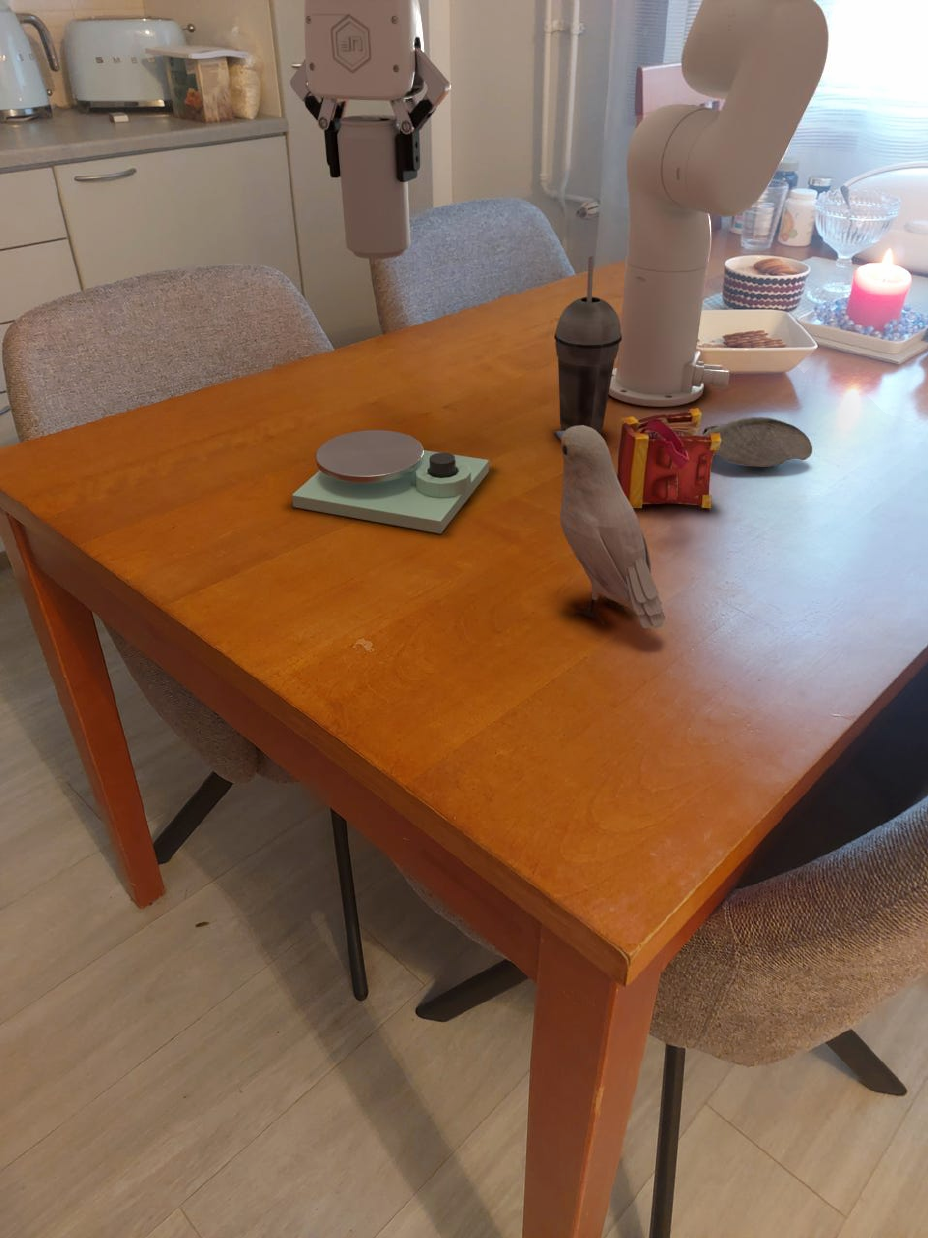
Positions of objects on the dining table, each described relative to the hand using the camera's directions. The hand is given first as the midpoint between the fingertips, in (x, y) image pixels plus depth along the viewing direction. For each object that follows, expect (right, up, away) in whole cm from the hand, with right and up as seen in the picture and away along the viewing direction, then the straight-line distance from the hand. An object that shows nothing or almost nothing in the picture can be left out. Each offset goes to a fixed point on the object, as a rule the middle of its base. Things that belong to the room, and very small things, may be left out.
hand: (373, 175), depth 85 cm
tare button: (+7, -28, +4) cm, 29 cm away
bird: (+20, -42, -11) cm, 47 cm away
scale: (+1, -29, +7) cm, 30 cm away
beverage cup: (+22, -22, +17) cm, 35 cm away
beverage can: (0, -6, +4) cm, 7 cm away
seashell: (+40, -25, +12) cm, 49 cm away
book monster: (+28, -32, +3) cm, 43 cm away
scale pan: (-1, -26, +6) cm, 27 cm away
